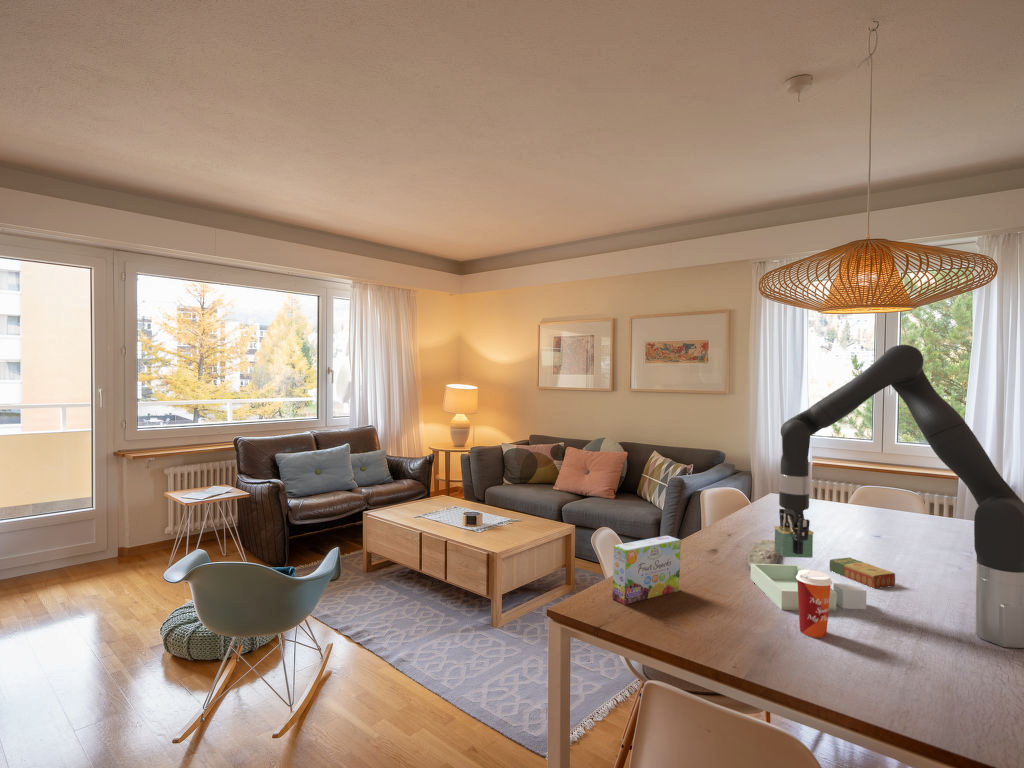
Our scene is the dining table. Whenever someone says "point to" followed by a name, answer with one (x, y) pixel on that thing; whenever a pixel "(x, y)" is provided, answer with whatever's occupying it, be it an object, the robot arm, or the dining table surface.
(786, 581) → the tote
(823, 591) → the paper cup
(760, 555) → the long grey stone
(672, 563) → the snack box
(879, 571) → the carton
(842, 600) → the white block
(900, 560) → the dining table surface
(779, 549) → the tea tin
